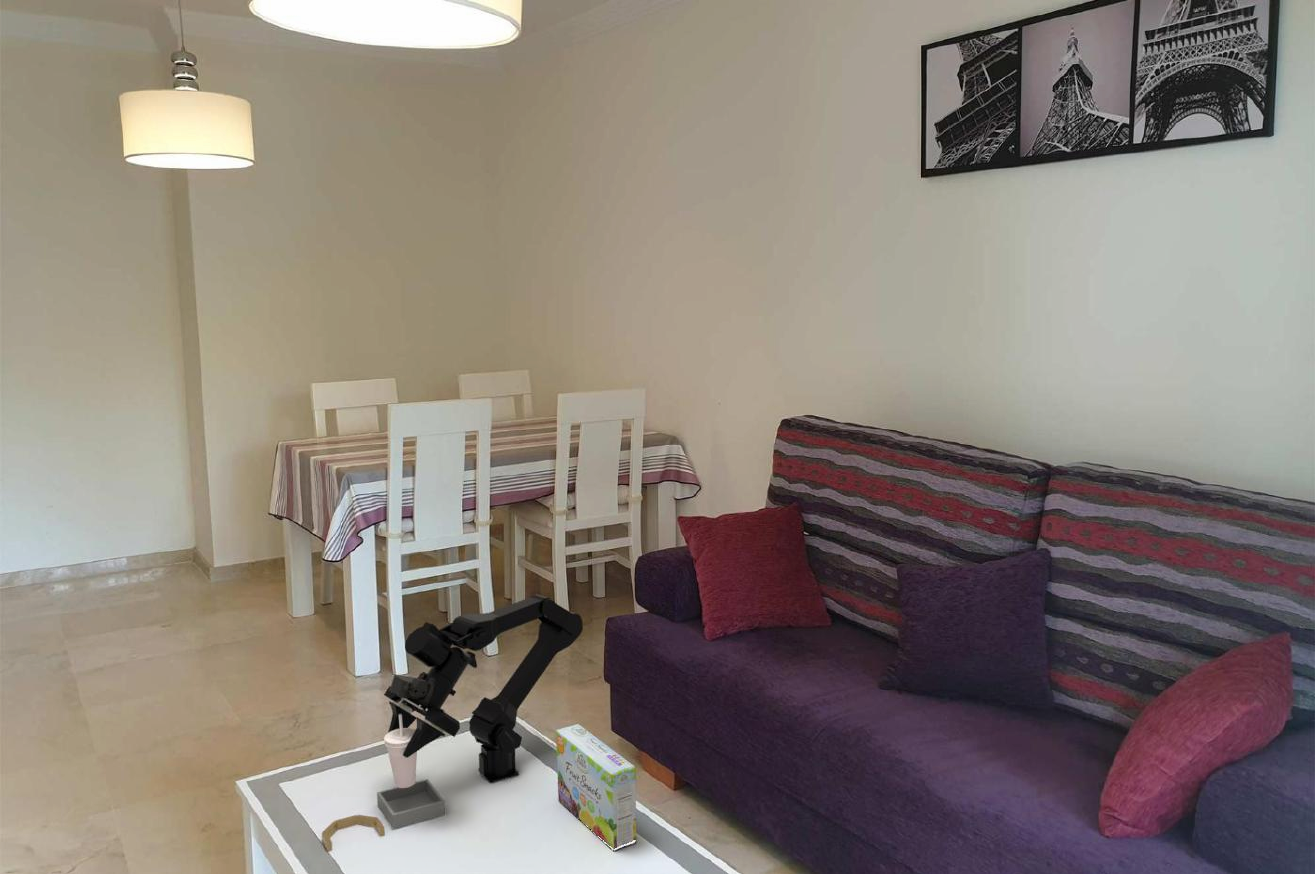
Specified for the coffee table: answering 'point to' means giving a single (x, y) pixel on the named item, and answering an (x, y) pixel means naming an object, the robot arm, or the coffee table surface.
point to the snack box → (596, 785)
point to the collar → (347, 823)
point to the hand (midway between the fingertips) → (395, 750)
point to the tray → (411, 804)
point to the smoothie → (401, 755)
